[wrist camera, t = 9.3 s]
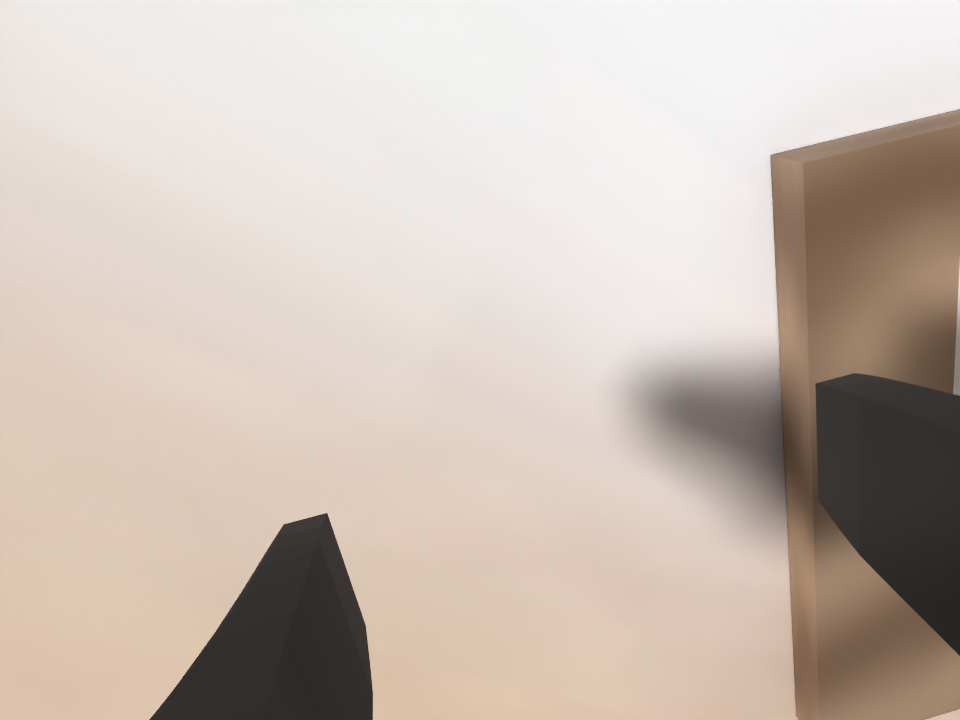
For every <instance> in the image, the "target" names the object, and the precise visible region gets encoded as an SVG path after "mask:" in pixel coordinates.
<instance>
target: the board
mask: <svg viewBox="0 0 960 720" xmlns="http://www.w3.org/2000/svg"><path fill="white" fill-rule="evenodd" d="M771 177H772V198H773V220H774V242H775V264H776V286H777V307H778V329H779V351H780V373H781V395H782V416H783V438H784V460H785V482H786V504H787V525H788V547H789V569H790V591H791V613H792V634H793V656H794V678H795V700H796V716H797V718H798V719H799V720H925V719H928V718H932V717H935V716H938V715H941V714H945V713H948V712H951V711H955V710H958V709H960V656H959V655H958V654H957V653H956V652H955V651H954V650H953V649H952V648H951V647H950V646H949V645H948V644H947V643H946V642H945V641H944V640H943V639H942V638H941V637H940V636H939V635H938V634H937V633H936V632H935V631H934V630H933V629H932V628H931V627H930V626H929V625H928V624H927V623H926V622H925V621H924V620H923V619H922V618H921V617H920V616H919V615H918V614H917V613H916V612H915V611H914V610H913V609H912V608H911V607H910V606H909V605H908V604H907V603H906V602H905V601H904V600H903V599H902V598H901V597H900V596H899V595H898V594H897V593H896V592H895V591H894V590H893V589H892V588H891V587H890V586H889V585H888V584H887V583H886V582H885V581H884V580H883V579H882V578H881V577H880V576H879V575H878V574H877V573H876V572H875V571H874V570H873V569H872V567H871V566H870V565H869V564H868V563H867V562H866V561H865V560H864V559H863V558H862V557H861V556H860V555H859V554H858V552H857V551H856V550H855V549H854V547H853V546H852V545H851V543H850V542H849V541H848V540H847V538H846V537H845V536H844V535H843V533H842V532H841V531H840V529H839V528H838V527H837V525H836V524H835V523H834V521H833V520H832V518H831V517H830V516H829V514H828V513H827V511H826V510H825V509H824V507H823V506H822V505H821V503H820V502H819V500H818V465H817V426H816V386H815V383H819V382H823V381H827V380H830V379H834V378H838V377H842V376H845V375H849V374H853V373H859V374H866V375H872V376H878V377H883V378H888V379H892V380H897V381H901V382H906V383H910V384H914V385H918V386H922V387H927V388H931V389H935V390H939V391H943V392H947V393H951V394H953V388H954V368H955V348H956V328H957V308H958V288H959V268H960V109H959V110H955V111H951V112H947V113H942V114H938V115H934V116H930V117H926V118H922V119H918V120H914V121H909V122H905V123H901V124H897V125H893V126H889V127H885V128H880V129H876V130H872V131H868V132H864V133H860V134H856V135H851V136H847V137H843V138H839V139H835V140H831V141H827V142H822V143H818V144H814V145H810V146H806V147H802V148H798V149H793V150H789V151H785V152H781V153H777V154H773V155H771Z"/></svg>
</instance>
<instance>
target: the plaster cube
mask: <svg viewBox="0 0 960 720" xmlns="http://www.w3.org/2000/svg"><path fill="white" fill-rule="evenodd" d="M953 394H955V395H959V396H960V268H959V288H958V308H957V328H956V348H955V368H954V388H953Z"/></svg>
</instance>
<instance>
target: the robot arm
mask: <svg viewBox="0 0 960 720" xmlns="http://www.w3.org/2000/svg"><path fill="white" fill-rule="evenodd" d="M815 386H816V426H817V465H818V500H819V502H820V503H821V505H822V506H823V507H824V509H825V510H826V511H827V513H828V514H829V516H830V517H831V518H832V520H833V521H834V523H835V524H836V525H837V527H838V528H839V529H840V531H841V532H842V533H843V535H844V536H845V537H846V538H847V540H848V541H849V542H850V543H851V545H852V546H853V547H854V549H855V550H856V551H857V552H858V554H859V555H860V556H861V557H862V558H863V559H864V560H865V561H866V562H867V563H868V564H869V565H870V566H871V567H872V569H873V570H874V571H875V572H876V573H877V574H878V575H879V576H880V577H881V578H882V579H883V580H884V581H885V582H886V583H887V584H888V585H889V586H890V587H891V588H892V589H893V590H894V591H895V592H896V593H897V594H898V595H899V596H900V597H901V598H902V599H903V600H904V601H905V602H906V603H907V604H908V605H909V606H910V607H911V608H912V609H913V610H914V611H915V612H916V613H917V614H918V615H919V616H920V617H921V618H922V619H923V620H924V621H925V622H926V623H927V624H928V625H929V626H930V627H931V628H932V629H933V630H934V631H935V632H936V633H937V634H938V635H939V636H940V637H941V638H942V639H943V640H944V641H945V642H946V643H947V644H948V645H949V646H950V647H951V648H952V649H953V650H954V651H955V652H956V653H957V654H958V655H959V656H960V396H959V395H955V394H951V393H947V392H943V391H939V390H935V389H931V388H927V387H922V386H918V385H914V384H910V383H906V382H901V381H897V380H892V379H888V378H883V377H878V376H872V375H866V374H859V373H853V374H849V375H845V376H842V377H838V378H834V379H830V380H827V381H823V382H819V383H815ZM372 719H373V691H372V680H371V670H370V660H369V651H368V643H367V634H366V625H365V623H364V620H363V617H362V614H361V611H360V608H359V605H358V602H357V599H356V596H355V593H354V590H353V587H352V585H351V582H350V579H349V576H348V573H347V570H346V567H345V564H344V561H343V558H342V555H341V552H340V549H339V547H338V544H337V541H336V538H335V535H334V532H333V529H332V526H331V523H330V520H329V517H328V514H327V513H326V514H322V515H318V516H314V517H311V518H307V519H303V520H299V521H295V522H292V523H288V524H284V525H283V527H282V528H281V530H280V531H279V533H278V534H277V536H276V537H275V539H274V541H273V542H272V544H271V545H270V547H269V548H268V550H267V552H266V553H265V555H264V557H263V558H262V560H261V561H260V563H259V565H258V566H257V568H256V570H255V571H254V573H253V574H252V576H251V578H250V579H249V581H248V582H247V584H246V586H245V587H244V589H243V591H242V592H241V594H240V595H239V597H238V598H237V600H236V601H235V603H234V604H233V606H232V608H231V609H230V611H229V612H228V614H227V615H226V617H225V618H224V620H223V621H222V623H221V624H220V626H219V627H218V629H217V631H216V632H215V634H214V635H213V636H212V638H211V639H210V640H209V642H208V643H207V645H206V646H205V647H204V649H203V650H202V651H201V653H200V654H199V656H198V657H197V658H196V660H195V661H194V663H193V664H192V665H191V667H190V668H189V669H188V671H187V672H186V674H185V675H184V676H183V678H182V679H181V680H180V682H179V683H178V685H177V686H176V687H175V689H174V690H173V691H172V692H171V694H170V695H169V696H168V698H167V699H166V700H165V701H164V703H163V704H162V705H161V706H160V708H159V709H158V710H157V711H156V712H155V714H154V715H153V716H152V717H151V719H150V720H372Z"/></svg>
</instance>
